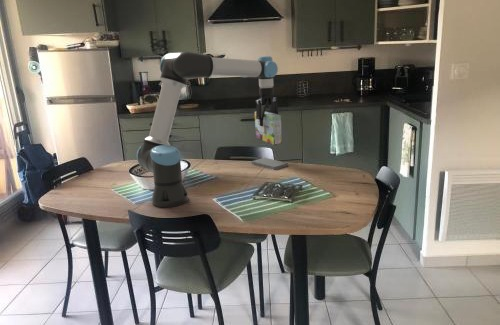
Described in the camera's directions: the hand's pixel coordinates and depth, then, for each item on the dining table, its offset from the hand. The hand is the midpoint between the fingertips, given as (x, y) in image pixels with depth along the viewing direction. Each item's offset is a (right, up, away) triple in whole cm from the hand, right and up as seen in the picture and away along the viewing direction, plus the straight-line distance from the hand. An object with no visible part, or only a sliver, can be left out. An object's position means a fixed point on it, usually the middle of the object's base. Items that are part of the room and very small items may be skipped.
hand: (268, 130), depth 214 cm
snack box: (0, -6, +1) cm, 6 cm away
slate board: (+1, -18, +5) cm, 19 cm away
